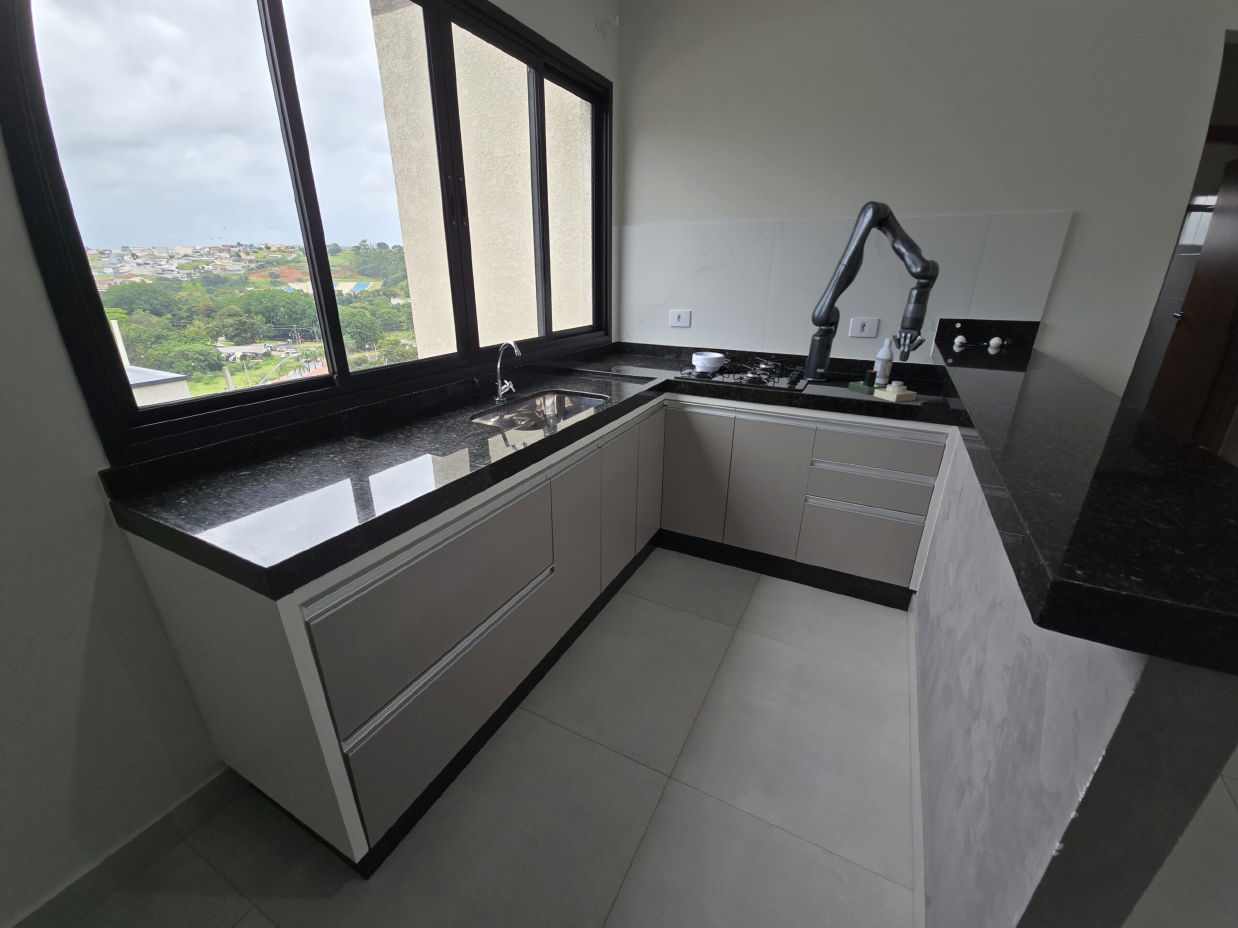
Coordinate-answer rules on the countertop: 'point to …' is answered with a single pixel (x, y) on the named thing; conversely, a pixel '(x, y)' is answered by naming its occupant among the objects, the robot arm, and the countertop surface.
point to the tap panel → (865, 387)
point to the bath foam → (884, 362)
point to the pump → (897, 384)
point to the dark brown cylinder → (870, 377)
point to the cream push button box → (895, 393)
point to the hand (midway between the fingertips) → (903, 361)
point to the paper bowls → (708, 361)
